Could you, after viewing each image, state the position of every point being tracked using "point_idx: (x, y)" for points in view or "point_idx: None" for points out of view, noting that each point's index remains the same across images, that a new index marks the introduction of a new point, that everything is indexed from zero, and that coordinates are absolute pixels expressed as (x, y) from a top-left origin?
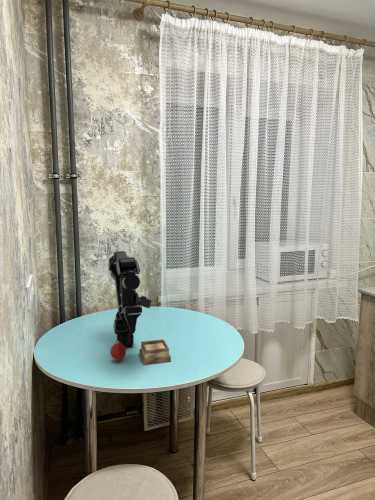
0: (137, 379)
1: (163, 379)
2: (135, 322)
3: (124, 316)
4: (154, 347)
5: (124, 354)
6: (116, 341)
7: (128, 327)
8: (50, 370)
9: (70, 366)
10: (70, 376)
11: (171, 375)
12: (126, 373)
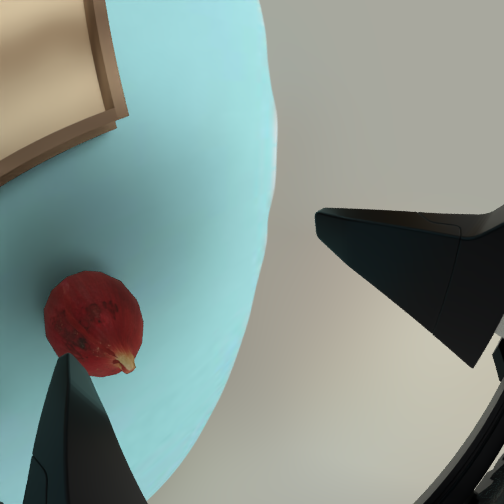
0: (232, 138)
1: (234, 38)
2: (435, 222)
3: (462, 355)
4: (3, 68)
5: (98, 272)
6: (131, 370)
7: (88, 394)
8: (196, 436)
9: (167, 421)
10: (219, 373)
11: (209, 4)
12: (190, 198)
